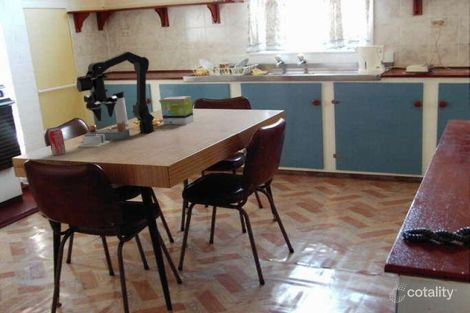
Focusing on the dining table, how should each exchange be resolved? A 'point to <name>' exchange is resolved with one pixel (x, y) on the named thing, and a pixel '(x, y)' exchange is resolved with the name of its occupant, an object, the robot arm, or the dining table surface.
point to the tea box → (177, 110)
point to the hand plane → (111, 132)
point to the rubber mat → (93, 145)
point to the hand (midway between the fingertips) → (105, 119)
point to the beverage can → (56, 141)
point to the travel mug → (120, 109)
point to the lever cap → (93, 139)
